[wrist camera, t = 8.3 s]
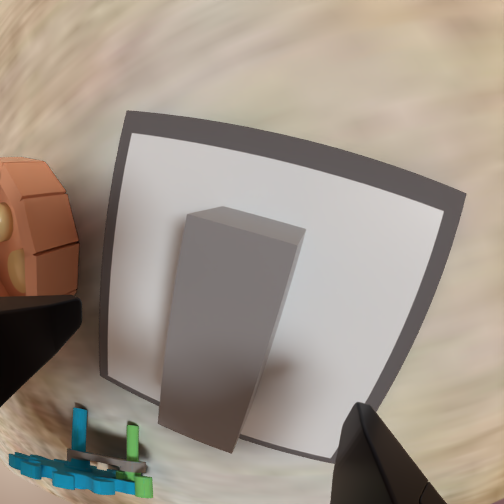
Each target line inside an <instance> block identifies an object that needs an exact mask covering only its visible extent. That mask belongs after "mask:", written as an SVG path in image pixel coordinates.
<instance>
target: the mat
mask: <svg viewBox="0 0 504 504" xmlns="http://www.w3.org/2000/svg"><path fill="white" fill-rule="evenodd" d="M132 133H136V134H144V135H151V136H157V137H164V138H170V139H176V140H182V141H188V142H194V143H199V144H205V145H210V146H215V147H220V148H225V149H230V150H235V151H240V152H244V153H249V154H253V155H258V156H262V157H266V158H271V159H275V160H279V161H283V162H287V163H291V164H295V165H299V166H303V167H307V168H310V169H314V170H318V171H322V172H325V173H329V174H332V175H336V176H339V177H343V178H346V179H350V180H353V181H356V182H359V183H363V184H366V185H369V186H372V187H375V188H379V189H382V190H385V191H388V192H391V193H394V194H397V195H400V196H403V197H406V198H408V199H411V200H414V201H417V202H420V203H423V204H425V205H428V206H431V207H433V208H436V209H439V210H441V211H444V213H443V216H442V220H441V223H440V227H439V230H438V234H437V237H436V240H435V243H434V246H433V250H432V253H431V256H430V259H429V262H428V264H427V267H426V270H425V273H424V276H423V278H422V281H421V284H420V287H419V289H418V292H417V294H416V297H415V299H414V302H413V304H412V307H411V309H410V312H409V314H408V317H407V319H406V321H405V324H404V326H403V328H402V330H401V333H400V335H399V337H398V339H397V341H396V344H395V346H394V348H393V350H392V352H391V354H390V356H389V358H388V360H387V362H386V364H385V366H384V368H383V370H382V372H381V374H380V376H379V378H378V380H377V382H376V384H375V386H374V388H373V389H372V391H371V393H370V395H369V397H368V399H367V400H366V402H365V403H366V404H369V405H371V407H372V408H373V409H374V411H375V412H376V411H377V410H378V408H379V406H380V405H381V403H382V401H383V399H384V398H385V396H386V394H387V392H388V391H389V389H390V387H391V385H392V384H393V382H394V380H395V378H396V376H397V374H398V372H399V371H400V369H401V367H402V365H403V363H404V361H405V359H406V357H407V355H408V353H409V351H410V349H411V347H412V345H413V343H414V340H415V338H416V336H417V334H418V332H419V330H420V327H421V325H422V323H423V321H424V318H425V316H426V314H427V311H428V309H429V307H430V304H431V302H432V299H433V297H434V294H435V292H436V289H437V286H438V284H439V281H440V279H441V276H442V273H443V270H444V267H445V265H446V262H447V259H448V256H449V253H450V250H451V247H452V244H453V240H454V237H455V234H456V230H457V227H458V224H459V220H460V216H461V213H462V209H463V205H464V201H465V197H466V193H464V192H461V191H459V190H457V189H454V188H452V187H449V186H447V185H444V184H442V183H439V182H437V181H434V180H432V179H429V178H426V177H424V176H421V175H418V174H416V173H413V172H410V171H407V170H404V169H401V168H399V167H396V166H393V165H390V164H387V163H384V162H381V161H378V160H374V159H371V158H368V157H365V156H362V155H358V154H355V153H352V152H348V151H345V150H341V149H338V148H334V147H330V146H327V145H323V144H319V143H315V142H311V141H308V140H303V139H299V138H295V137H291V136H287V135H282V134H278V133H273V132H269V131H264V130H259V129H254V128H249V127H244V126H239V125H233V124H228V123H222V122H216V121H210V120H204V119H197V118H190V117H183V116H175V115H167V114H158V113H149V112H139V111H127V112H126V116H125V120H124V124H123V129H122V133H121V138H120V142H119V147H118V152H117V157H116V162H115V168H114V173H113V179H112V185H111V191H110V198H109V205H108V212H107V220H106V228H105V237H104V247H103V258H102V271H101V287H100V312H99V360H100V376H101V377H103V378H105V379H107V380H109V381H110V382H112V383H114V384H116V385H118V386H120V387H122V388H123V389H125V390H127V391H129V392H131V393H133V394H135V395H137V396H139V397H141V398H143V399H145V400H147V401H149V402H151V403H153V404H156V405H158V406H159V404H160V402H159V401H157V400H155V399H153V398H151V397H149V396H147V395H144V394H142V393H140V392H138V391H136V390H134V389H132V388H130V387H128V386H127V385H125V384H123V383H121V382H119V381H117V380H115V379H113V378H111V377H110V376H108V313H109V293H110V278H111V265H112V254H113V245H114V236H115V228H116V220H117V213H118V206H119V199H120V193H121V187H122V181H123V175H124V169H125V164H126V159H127V154H128V149H129V144H130V140H131V135H132ZM239 438H240V439H243V440H246V441H249V442H252V443H255V444H258V445H262V446H265V447H268V448H272V449H275V450H279V451H282V452H286V453H290V454H294V455H298V456H302V457H306V458H310V459H314V460H319V461H323V462H328V463H333V464H335V461H336V456H337V451H338V448H337V450H336V451H335V453H334V454H333V456H332V457H331V458H326V457H322V456H317V455H313V454H309V453H305V452H301V451H297V450H293V449H289V448H285V447H282V446H278V445H275V444H271V443H268V442H264V441H261V440H258V439H255V438H252V437H249V436H246V435H242V434H240V436H239Z"/></svg>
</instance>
